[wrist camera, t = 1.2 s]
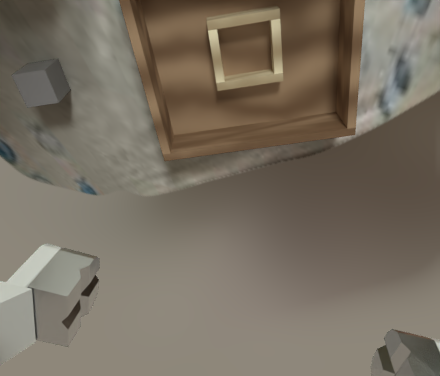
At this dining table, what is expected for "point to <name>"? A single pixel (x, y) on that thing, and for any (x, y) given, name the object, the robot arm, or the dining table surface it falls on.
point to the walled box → (246, 71)
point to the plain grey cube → (41, 83)
